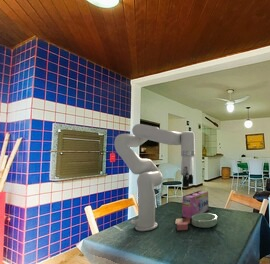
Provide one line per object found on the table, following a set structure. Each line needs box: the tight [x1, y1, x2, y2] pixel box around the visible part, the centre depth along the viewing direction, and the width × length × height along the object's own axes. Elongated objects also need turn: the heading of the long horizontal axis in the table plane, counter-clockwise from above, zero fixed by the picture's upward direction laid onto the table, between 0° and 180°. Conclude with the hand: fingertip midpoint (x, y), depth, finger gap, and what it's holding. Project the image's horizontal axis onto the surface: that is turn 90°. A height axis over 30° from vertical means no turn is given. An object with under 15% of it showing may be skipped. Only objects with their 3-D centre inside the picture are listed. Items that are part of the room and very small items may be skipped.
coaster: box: [174, 217, 191, 225], centre depth 125 cm, size 9×9×1 cm
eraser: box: [176, 222, 189, 231], centre depth 113 cm, size 6×3×3 cm, turn 95°
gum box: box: [181, 190, 210, 220], centre depth 142 cm, size 24×8×14 cm, turn 148°
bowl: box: [191, 212, 218, 229], centre depth 121 cm, size 15×15×4 cm
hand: (188, 185), depth 109 cm, fingers open, 9 cm apart
